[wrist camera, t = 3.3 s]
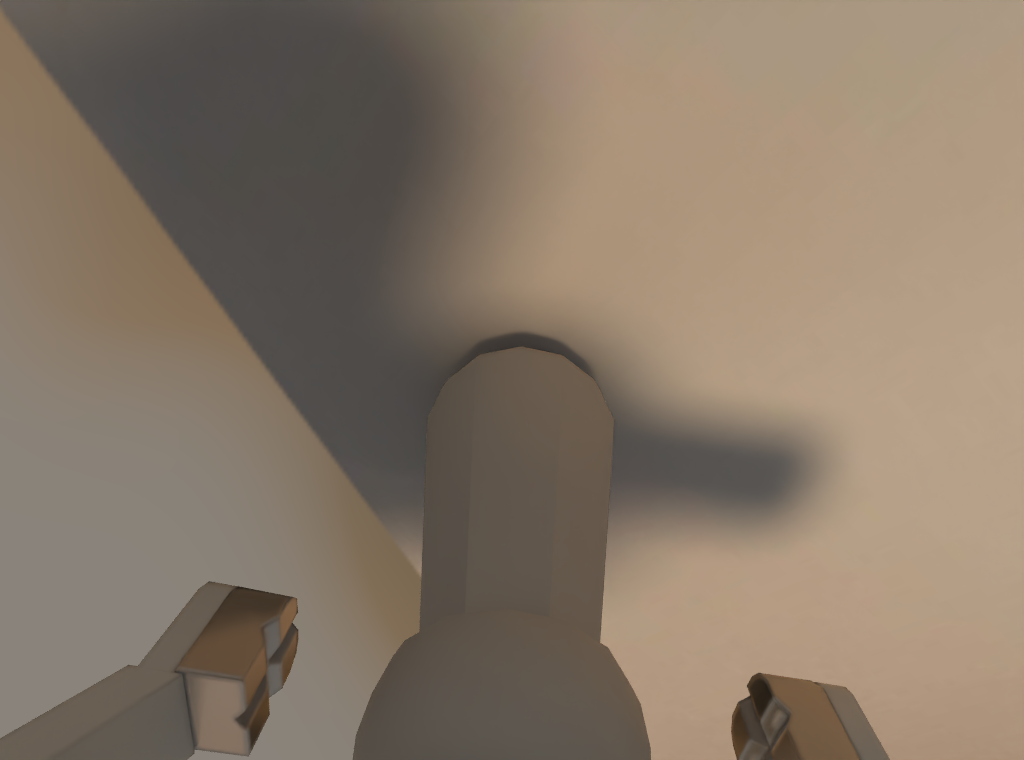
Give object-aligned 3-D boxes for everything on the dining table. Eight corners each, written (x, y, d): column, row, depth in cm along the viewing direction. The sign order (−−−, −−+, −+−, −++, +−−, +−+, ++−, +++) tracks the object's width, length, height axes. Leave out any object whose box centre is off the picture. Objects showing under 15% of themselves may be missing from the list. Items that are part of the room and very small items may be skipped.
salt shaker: (465, 481, 20) (357, 973, 8) (420, 345, 18) (179, 748, 6) (618, 455, 19) (743, 959, 7) (590, 308, 17) (709, 693, 5)
